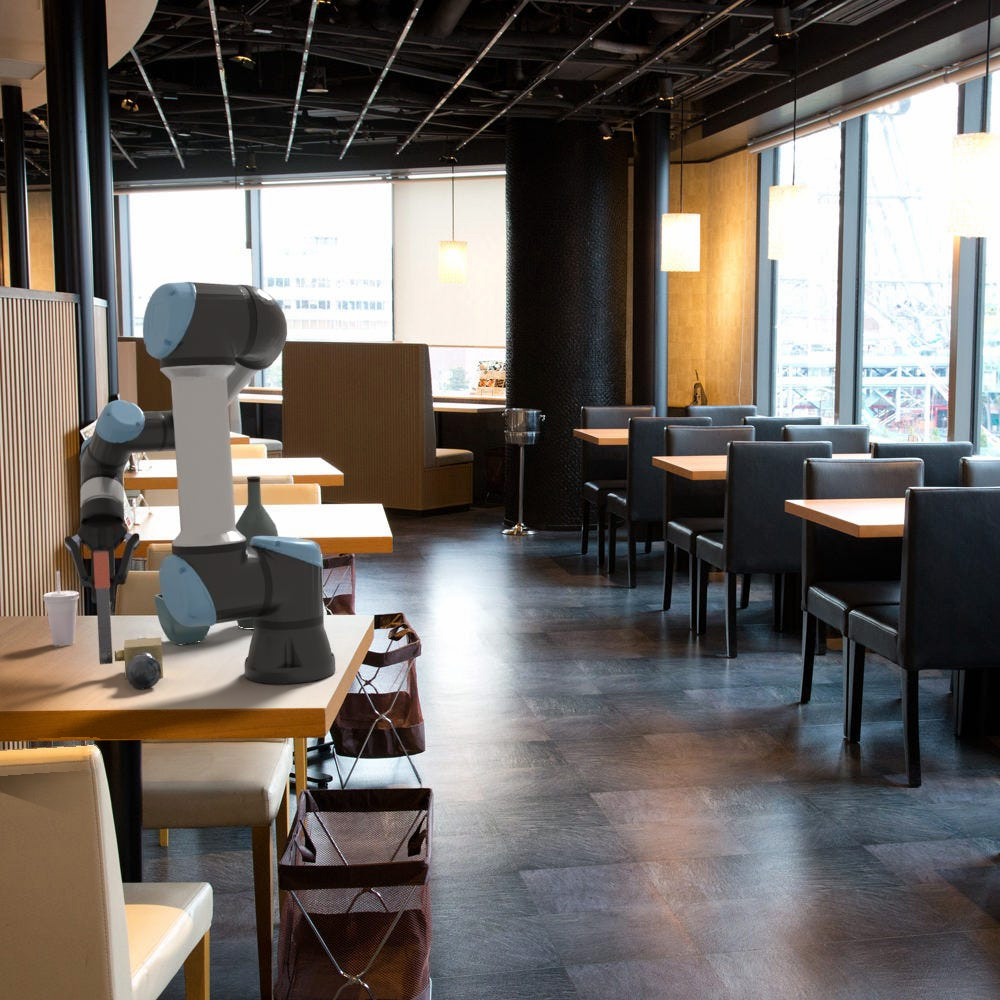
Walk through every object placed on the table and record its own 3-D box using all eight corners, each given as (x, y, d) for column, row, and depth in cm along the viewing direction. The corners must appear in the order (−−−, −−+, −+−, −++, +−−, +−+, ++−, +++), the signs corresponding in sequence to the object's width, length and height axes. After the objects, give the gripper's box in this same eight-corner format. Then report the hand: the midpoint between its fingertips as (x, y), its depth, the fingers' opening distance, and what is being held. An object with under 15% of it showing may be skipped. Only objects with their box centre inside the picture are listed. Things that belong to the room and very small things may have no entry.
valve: (116, 670, 205) (114, 639, 205) (162, 667, 208) (161, 636, 207) (114, 691, 192) (112, 658, 191) (163, 687, 194) (162, 654, 194)
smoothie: (38, 646, 224) (34, 573, 223) (61, 639, 230) (57, 567, 229) (66, 649, 222) (62, 574, 221) (88, 641, 228) (85, 568, 227)
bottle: (227, 625, 241) (221, 477, 238) (267, 619, 247) (262, 474, 244) (249, 633, 234) (244, 480, 231) (290, 626, 240) (285, 476, 237)
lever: (99, 662, 202) (93, 549, 200) (113, 661, 202) (108, 549, 200) (98, 666, 200) (93, 552, 197) (113, 664, 200) (107, 551, 198)
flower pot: (170, 649, 221) (168, 601, 220) (155, 640, 228) (153, 594, 227) (216, 643, 226) (214, 596, 225) (200, 634, 233) (198, 589, 232)
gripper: (140, 519, 223) (144, 626, 208) (66, 522, 219) (64, 631, 205) (138, 493, 217) (142, 601, 203) (62, 496, 213) (60, 606, 199)
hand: (103, 616), depth 204 cm, fingers closed
